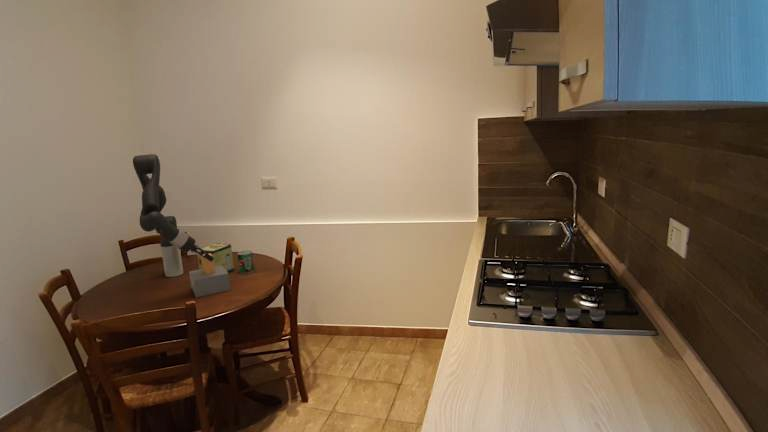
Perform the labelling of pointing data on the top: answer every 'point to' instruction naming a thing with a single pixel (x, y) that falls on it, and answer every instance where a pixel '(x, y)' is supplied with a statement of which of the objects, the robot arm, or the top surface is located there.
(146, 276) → the top surface
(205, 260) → the orange block
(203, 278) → the storage box
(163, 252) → the robot arm
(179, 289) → the top surface
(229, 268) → the protein box
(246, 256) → the canned tomato
